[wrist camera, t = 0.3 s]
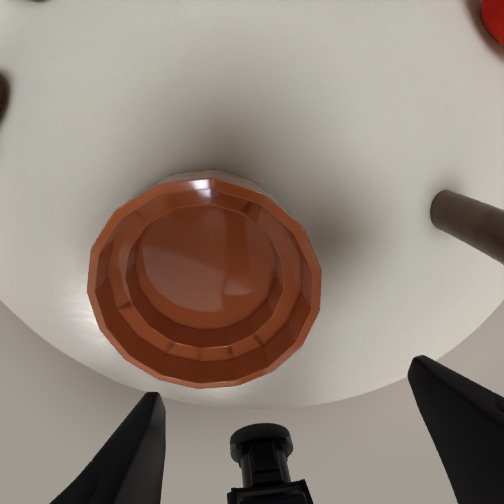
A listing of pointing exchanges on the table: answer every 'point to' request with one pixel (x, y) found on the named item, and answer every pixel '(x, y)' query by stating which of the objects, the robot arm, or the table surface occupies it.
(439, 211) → the brown tall cylinder
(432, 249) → the table surface
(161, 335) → the mixing bowl
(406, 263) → the table surface
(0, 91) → the cocoa
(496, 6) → the apple
